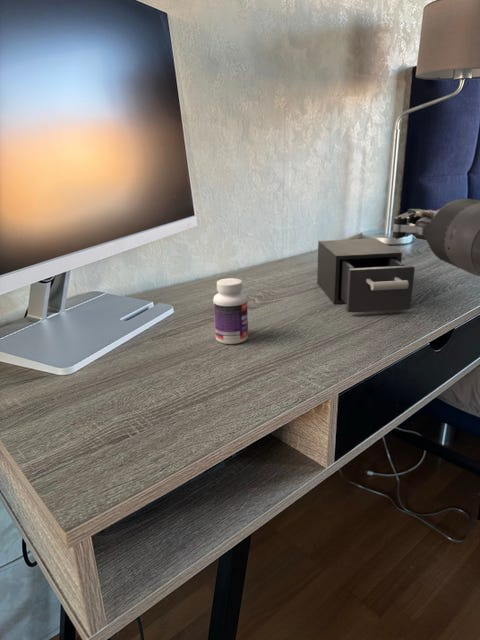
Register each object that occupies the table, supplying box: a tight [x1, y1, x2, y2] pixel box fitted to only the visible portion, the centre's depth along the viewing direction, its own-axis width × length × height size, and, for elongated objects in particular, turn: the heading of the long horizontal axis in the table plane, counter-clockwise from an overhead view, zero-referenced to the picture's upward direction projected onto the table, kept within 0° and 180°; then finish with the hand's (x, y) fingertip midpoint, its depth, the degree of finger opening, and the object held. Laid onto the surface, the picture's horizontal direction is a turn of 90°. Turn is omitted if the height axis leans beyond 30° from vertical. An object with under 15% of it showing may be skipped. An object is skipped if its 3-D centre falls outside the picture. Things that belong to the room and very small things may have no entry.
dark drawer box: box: [339, 257, 416, 313], centre depth 83 cm, size 18×11×8 cm, turn 4°
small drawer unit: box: [316, 237, 403, 305], centre depth 92 cm, size 15×13×10 cm
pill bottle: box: [212, 277, 249, 345], centre depth 71 cm, size 5×5×10 cm
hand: (411, 216), depth 64 cm, fingers closed
